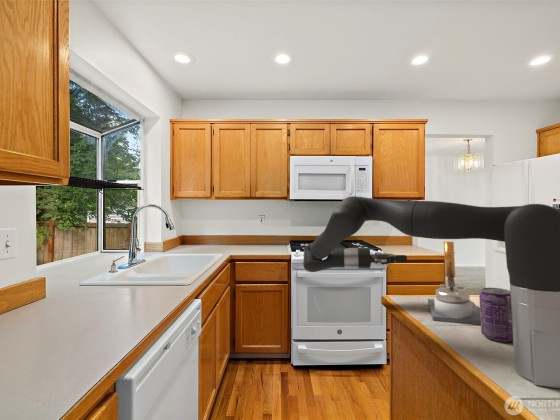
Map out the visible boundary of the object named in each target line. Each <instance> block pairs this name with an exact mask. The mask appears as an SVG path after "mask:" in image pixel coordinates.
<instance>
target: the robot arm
mask: <svg viewBox="0 0 560 420" xmlns="http://www.w3.org/2000/svg"><path fill="white" fill-rule="evenodd" d="M367 221H377V222H384V223H387V224H388V225H390V226H392V227H394V228H395V229H396V230H397V231H399V232H401V233H403V234H404V235H407V236H410V237H414V238H423V239H432V240H433V239H434V240H468V239H470V240H471V239H472V240H473V239H477V240H478V239H481V240H490V241H498V242H504V249H505V259H506V268H507V272H508V276H509V291H510V295H511V313H512V330H513V340H512V344H513V356H514V357H513V359H514V370H515V372H516V373H518V374H519V376H522V377H523V379H526V380H529V381H530V382H532V383H533V384H534V385H537V386H541V387H547V388H554V389H555V388H556V389H560V210H559V209H557V208H556V207H553V206H551V205H547V204H542V203H528V204H524V205H517V206H512V205H511V206H478V205H470V204H463V203H456V202H450V201H449V202H447V201H436V200H435V201H434V200H396V199H395V200H394V199H381V198H380V199H378V198H372V197H371V198H370V197H366V196H365V197H364V196H355V195H354V196H347V197H345V198H343V200H342V201H340V203H339V204H338V205H337V206H336V207H335V208H334V210H333V211H332V213H331V215H330V218H329V220H328V222H327V224H326V226H325V229H324V230H323V231H322V232H321V233H320V234H319V235H318V236H317V237H316V239H315V240H314V241H313V242H311V243H309V244H307V245H306V246H305V248H304V250H303V261H302V263H303V269H304V270H305V271H307V272H310V273H317V272H321V271H324V270H328V269H334V268H336V269H337V268H338V269H339V268H340V269H341V268H342V269H344V268H346V269H360V270H361V269H367V270H369V269H370V268H371V265H372V263H374V264H376V265H383V266H384V265H388V264H395V263H400V262H401V263H403V262H404V263H406V262H408V257H407V255H405V254H394V253H387V252H376V251H375V252H374V253H371V250H370V248H368V247H349V248H337V246H338V245H339V244H341V243H342V242H344V241H345V240H347V239H348V238H350V237H351V236H353V235H355V234H356V233H357V232H358V231H360V229H361V228H362V226H363V225H364V223H366V222H367Z"/></svg>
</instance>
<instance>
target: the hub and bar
mask: <svg viewBox="0 0 560 420" xmlns="http://www.w3.org/2000/svg"><path fill="white" fill-rule="evenodd" d="M443 253H444V254H443V256H444V257H443V258H444V275H445V277H446V278H447V284H448V287H447V284H441V283H440V284H439V287H438V288H436V289H435V297H436V299H438V300H440V301H444V302H449V303H467V302H469V301H470V299H471V298H470V291H468V290H466V289H465V287H464V285H456V282H455V278H456V262H455V261H456V260H455V246H454V241H443ZM455 287H456V288H455Z"/></svg>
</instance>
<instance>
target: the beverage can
mask: <svg viewBox="0 0 560 420" xmlns="http://www.w3.org/2000/svg"><path fill="white" fill-rule="evenodd" d="M480 290H481V292H480V294H479V310H480V317H481V325H480V330H481V331H480V332H481V335H483V336H485V337H486V338H488V339H490V340H492V341H495V342H500V343H501V342H502V343H507V342H511V341H512V342H513V330H512V313H511V295H510V289H505V288H499V287H482V288H481V289H480Z"/></svg>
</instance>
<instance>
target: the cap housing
mask: <svg viewBox="0 0 560 420" xmlns="http://www.w3.org/2000/svg"><path fill="white" fill-rule="evenodd" d="M427 304H428V307H429V311H430V314H431V319H432V320H433V321H435V322H448V323H458V324H468V325H469V324H470V325H480V326H481V317H480V308H479V307H478V306H477V305H476V304H475V302H474V301H472V300H470V301H469V302H467V303H449V302H444V301H440V300H438V299H436V296H434V298H427Z"/></svg>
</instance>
